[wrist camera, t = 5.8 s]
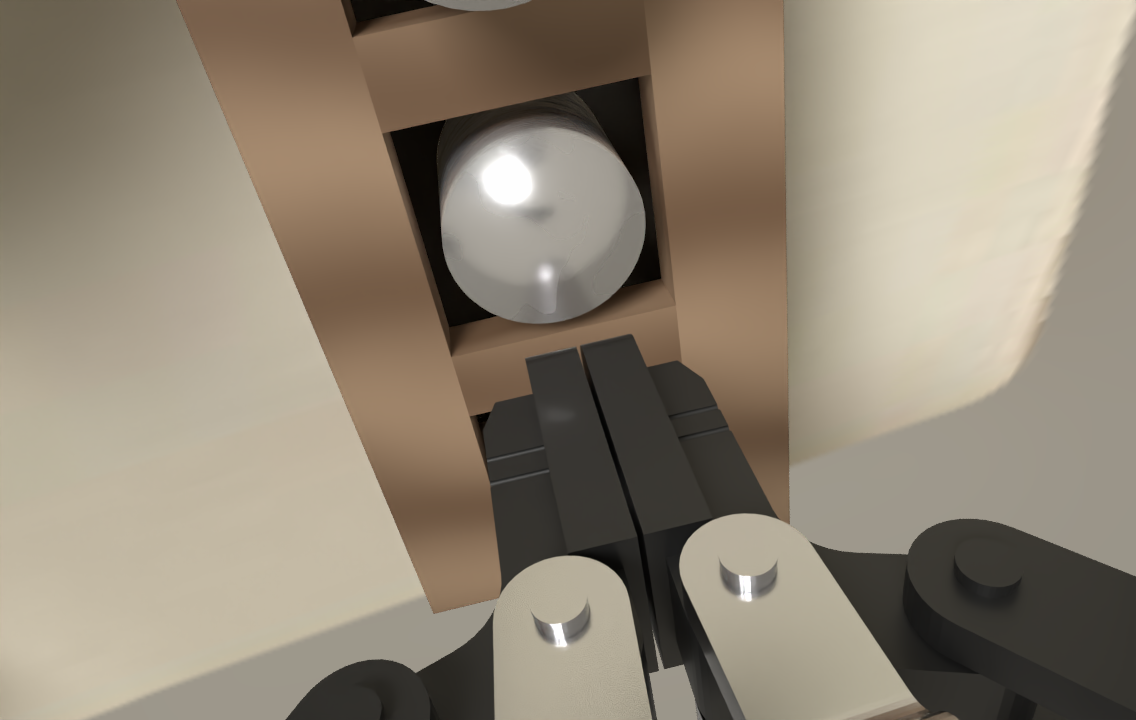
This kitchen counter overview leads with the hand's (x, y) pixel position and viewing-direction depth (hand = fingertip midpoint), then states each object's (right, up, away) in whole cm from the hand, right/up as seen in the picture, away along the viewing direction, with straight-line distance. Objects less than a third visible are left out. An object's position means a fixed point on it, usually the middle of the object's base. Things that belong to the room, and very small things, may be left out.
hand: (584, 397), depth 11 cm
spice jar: (-2, +6, +12) cm, 13 cm away
